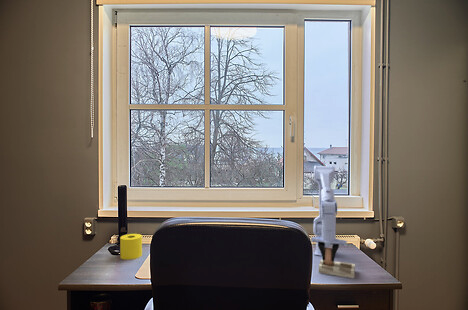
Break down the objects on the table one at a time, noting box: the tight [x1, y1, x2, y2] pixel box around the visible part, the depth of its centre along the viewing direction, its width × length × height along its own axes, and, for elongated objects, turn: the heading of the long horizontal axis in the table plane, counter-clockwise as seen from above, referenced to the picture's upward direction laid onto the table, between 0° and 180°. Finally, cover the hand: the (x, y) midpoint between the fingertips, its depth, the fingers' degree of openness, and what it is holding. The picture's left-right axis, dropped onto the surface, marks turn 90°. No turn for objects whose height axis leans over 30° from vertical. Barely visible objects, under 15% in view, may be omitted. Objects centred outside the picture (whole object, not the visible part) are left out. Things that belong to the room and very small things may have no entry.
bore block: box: [318, 258, 356, 279], centre depth 128 cm, size 8×14×3 cm, turn 66°
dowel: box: [325, 247, 332, 266], centre depth 129 cm, size 3×3×7 cm
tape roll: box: [119, 233, 143, 261], centre depth 146 cm, size 10×10×9 cm
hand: (328, 260), depth 129 cm, fingers closed on dowel, 3 cm apart
